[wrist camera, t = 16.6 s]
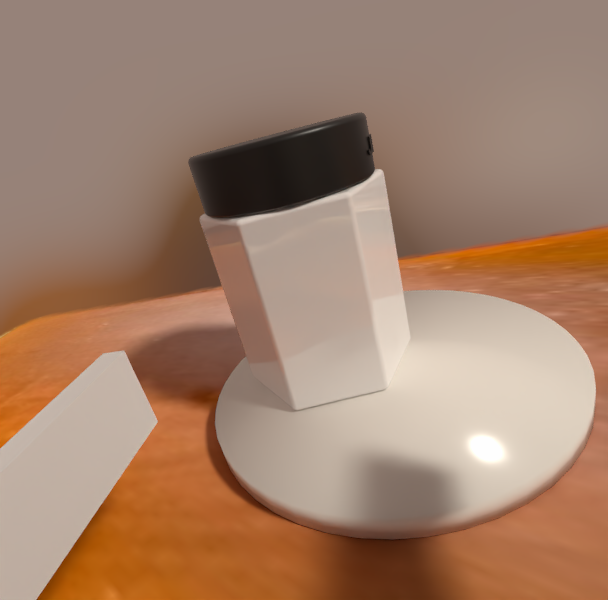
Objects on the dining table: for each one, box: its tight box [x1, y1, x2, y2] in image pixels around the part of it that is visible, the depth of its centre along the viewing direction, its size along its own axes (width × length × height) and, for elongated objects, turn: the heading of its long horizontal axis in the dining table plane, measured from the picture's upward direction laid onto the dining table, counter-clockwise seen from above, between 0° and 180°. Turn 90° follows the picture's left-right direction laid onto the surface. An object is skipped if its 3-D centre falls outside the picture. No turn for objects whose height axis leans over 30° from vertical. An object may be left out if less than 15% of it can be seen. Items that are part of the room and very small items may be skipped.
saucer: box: [215, 290, 596, 540], centre depth 22 cm, size 18×18×1 cm
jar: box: [189, 113, 411, 410], centre depth 21 cm, size 9×8×12 cm
